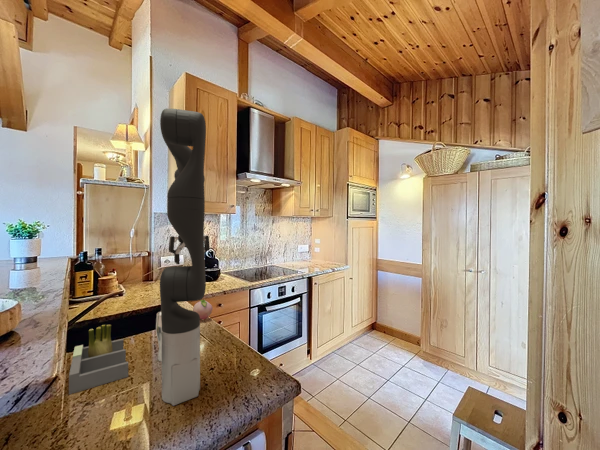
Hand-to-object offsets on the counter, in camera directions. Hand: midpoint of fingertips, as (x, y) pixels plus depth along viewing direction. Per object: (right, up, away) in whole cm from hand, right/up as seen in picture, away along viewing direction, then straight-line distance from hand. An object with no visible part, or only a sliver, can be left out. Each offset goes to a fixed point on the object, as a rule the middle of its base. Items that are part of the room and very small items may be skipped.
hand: (189, 263), depth 98 cm
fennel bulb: (-22, -30, -15) cm, 41 cm away
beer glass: (-3, -30, -11) cm, 32 cm away
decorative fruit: (-4, -31, +23) cm, 39 cm away
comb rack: (-20, -30, -18) cm, 40 cm away
